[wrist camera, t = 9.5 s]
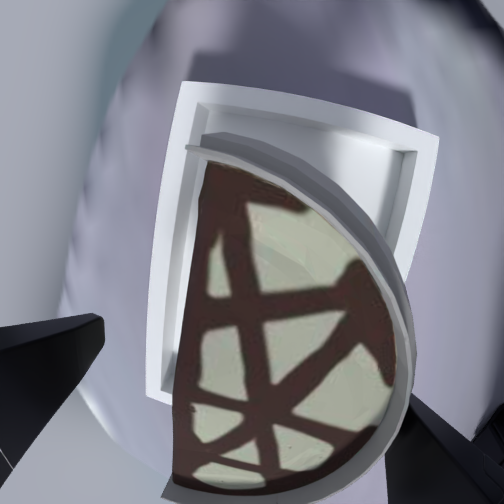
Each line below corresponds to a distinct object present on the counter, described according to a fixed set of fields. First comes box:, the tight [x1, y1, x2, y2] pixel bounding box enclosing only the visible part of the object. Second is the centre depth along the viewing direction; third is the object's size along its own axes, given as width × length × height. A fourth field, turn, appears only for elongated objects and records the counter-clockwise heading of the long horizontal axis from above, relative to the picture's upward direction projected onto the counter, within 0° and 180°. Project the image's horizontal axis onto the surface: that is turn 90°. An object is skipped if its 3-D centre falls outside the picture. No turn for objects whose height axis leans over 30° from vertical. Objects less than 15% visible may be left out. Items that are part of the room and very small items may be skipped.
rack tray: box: [146, 81, 440, 405], centre depth 15 cm, size 12×18×2 cm, turn 169°
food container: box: [161, 132, 417, 504], centre depth 10 cm, size 12×6×10 cm, turn 169°
